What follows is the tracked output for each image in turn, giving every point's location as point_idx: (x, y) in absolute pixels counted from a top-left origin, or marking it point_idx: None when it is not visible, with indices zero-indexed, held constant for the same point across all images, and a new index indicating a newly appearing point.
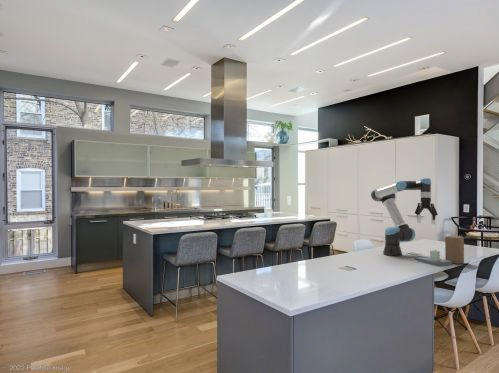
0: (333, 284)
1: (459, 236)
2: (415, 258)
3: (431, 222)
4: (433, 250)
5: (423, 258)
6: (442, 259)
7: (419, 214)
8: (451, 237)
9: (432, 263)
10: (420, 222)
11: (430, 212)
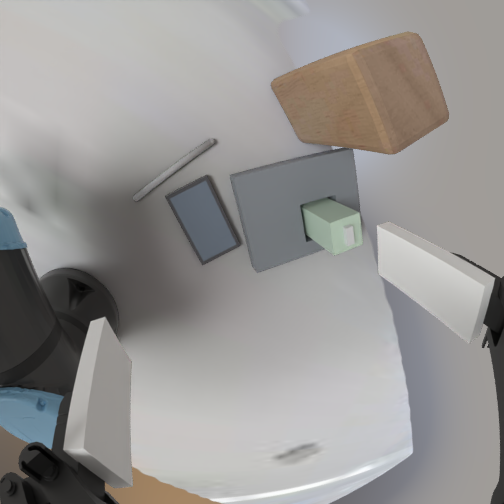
0: (378, 450)
1: (410, 46)
2: (210, 260)
3: (395, 284)
4: (348, 244)
5: (269, 250)
6: (310, 163)
7: (59, 457)
8: (423, 135)
9: None
10: (106, 320)
11: (502, 394)
